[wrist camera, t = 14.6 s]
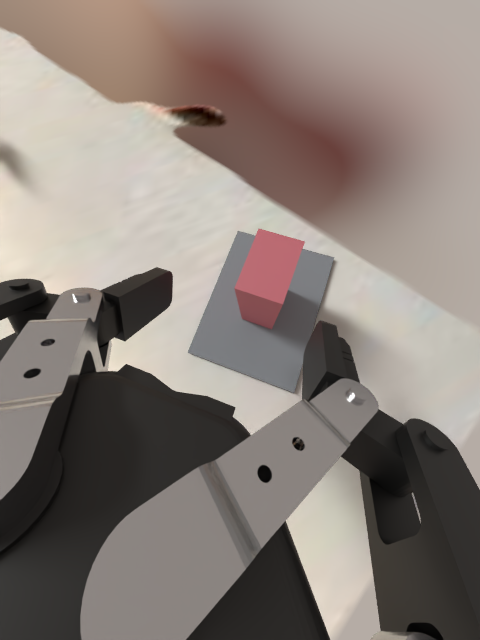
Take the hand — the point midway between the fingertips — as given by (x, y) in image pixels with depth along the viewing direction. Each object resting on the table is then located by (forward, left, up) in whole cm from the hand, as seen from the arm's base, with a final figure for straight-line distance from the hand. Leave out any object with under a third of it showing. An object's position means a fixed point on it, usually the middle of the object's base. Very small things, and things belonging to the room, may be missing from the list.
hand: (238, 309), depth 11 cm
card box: (+1, +5, -12) cm, 13 cm away
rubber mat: (0, +5, -12) cm, 13 cm away
